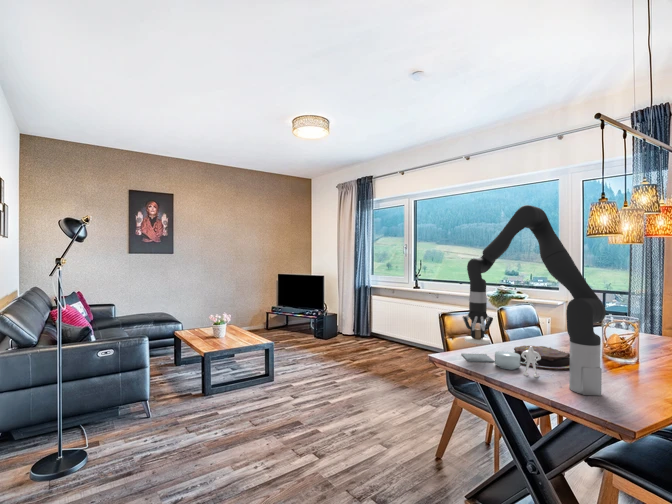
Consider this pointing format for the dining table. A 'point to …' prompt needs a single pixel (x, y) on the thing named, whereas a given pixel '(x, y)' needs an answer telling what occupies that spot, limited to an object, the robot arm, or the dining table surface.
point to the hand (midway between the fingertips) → (477, 338)
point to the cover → (477, 338)
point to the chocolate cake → (546, 358)
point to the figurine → (531, 360)
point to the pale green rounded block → (507, 360)
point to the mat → (477, 357)
